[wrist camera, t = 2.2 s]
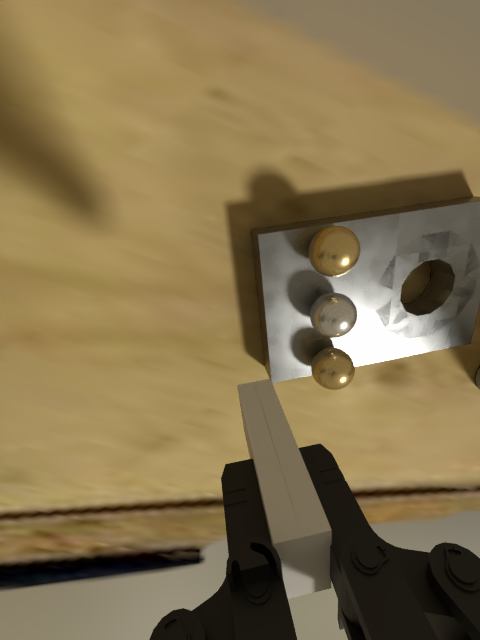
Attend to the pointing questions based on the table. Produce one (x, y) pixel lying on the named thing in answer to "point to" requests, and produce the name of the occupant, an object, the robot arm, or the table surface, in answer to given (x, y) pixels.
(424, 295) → the bearing plate
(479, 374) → the lotion bottle
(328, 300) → the steel ball
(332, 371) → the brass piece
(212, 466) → the table surface
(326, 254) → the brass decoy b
